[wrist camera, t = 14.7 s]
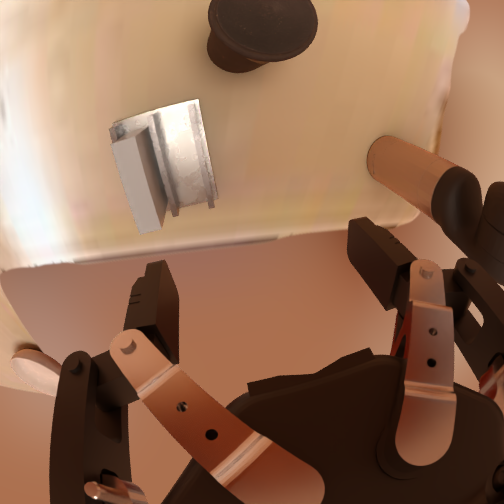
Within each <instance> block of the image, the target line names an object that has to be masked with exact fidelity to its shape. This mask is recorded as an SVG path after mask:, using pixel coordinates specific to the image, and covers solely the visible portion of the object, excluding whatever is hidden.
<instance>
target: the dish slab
mask: <svg viewBox="0 0 504 504" xmlns="http://www.w3.org/2000/svg"><path fill="white" fill-rule="evenodd" d="M111 148H112V151H113V155H114V158H115V162H116V165H117V168H118V172H119V175H120V178H121V181H122V185H123V188H124V191H125V194H126V197H127V200H128V203H129V206H130V209H131V211H132V214H133V217H134V220H135V223H136V225H137V228H138V231H139V233H140V235H141V234H145V233H149V232H153V231H157V230H161V229H162V227H163V222H164V217H165V213H166V208H167V204H168V198H167V194H166V191H165V187H164V184H163V180H162V177H161V173H160V169H159V165H158V162H157V158H156V154H155V150H154V146H153V142H152V138H151V134H150V130H149V126H146V127H143V128H139V129H136V130H133V131H130V132H129V133H127V134H125V135H124V136H122V137H121V138H119V139H118V140H116V141H115V142H113V143H112V144H111Z"/></svg>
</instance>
